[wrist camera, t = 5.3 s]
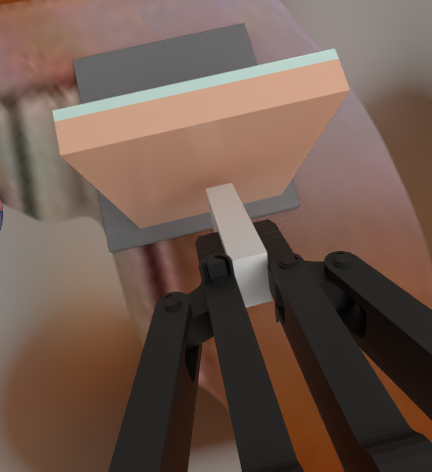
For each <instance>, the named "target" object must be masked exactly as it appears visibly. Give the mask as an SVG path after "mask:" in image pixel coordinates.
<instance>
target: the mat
mask: <svg viewBox="0 0 432 472" xmlns="http://www.w3.org/2000/svg"><path fill="white" fill-rule="evenodd" d="M73 63H74V68H75V73H76V79H77V84H78V89H79V94H80V100H81V104H85V103H90V102H94V101H99V100H103V99H108V98H112V97H117V96H121V95H126V94H130V93H135V92H140V91H144V90H149V89H153V88H158V87H162V86H167V85H171V84H176V83H180V82H185V81H189V80H194V79H199V78H203V77H208V76H212V75H217V74H221V73H226V72H230V71H235V70H239V69H244V68H249V67H253V66H257V63H256V60H255V57H254V53H253V50H252V47H251V44H250V40H249V37H248V34H247V30H246V27H245V24H244V23H242V24H237V25H233V26H228V27H223V28H219V29H214V30H209V31H205V32H200V33H195V34H191V35H186V36H181V37H177V38H172V39H167V40H163V41H158V42H153V43H149V44H144V45H139V46H134V47H130V48H125V49H120V50H116V51H111V52H106V53H102V54H97V55H92V56H88V57H83V58H78V59H74V60H73ZM98 195H99V200H100V206H101V211H102V216H103V221H104V227H105V232H106V237H107V243H108V248H109V252H111V253H114V252H118V251H122V250H126V249H131V248H135V247H139V246H143V245H147V244H151V243H155V242H159V241H164V240H168V239H172V238H176V237H180V236H184V235H188V234H193V233H197V232H201V231H205V230H209V229H213V223H212V218H211V213H210V212H208V213H204V214H199V215H195V216H191V217H187V218H183V219H179V220H174V221H170V222H166V223H162V224H158V225H153V226H149V227H145V228H141V229H140V228H139V227H138V226H137V225H136V224H135V223H134V222H133V221H132V220H130V219H129V218H128V217H127V216H126V215H125V214H124V213H123V212H122V211H121V210H119V209H118V208H117V207H116V206H115V205H114V204H113V203H112V202H111V201H110V200H108V199H107V198H106V197H105V196H104V195H103V194H102V193H101V192H100V191H99V190H98ZM243 206H244V208H245V210H246V212H247V214H248V216H249V218H250V219H255V218H259V217H263V216H267V215H271V214H275V213H279V212H283V211H288V210H292V209H296V208H298V207H299V206H300V204H299V201H298V198H297V194H296V191H295V188H294V185H293V181H292V180H291V182H290V183H289V185H288V186H287V188H286V189H285V191H284V192H283V194H282V195H279V196H275V197H270V198H266V199H262V200H258V201H254V202H250V203H245V204H243Z"/></svg>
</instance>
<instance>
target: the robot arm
mask: <svg viewBox="0 0 432 472" xmlns="http://www.w3.org/2000/svg"><path fill="white" fill-rule="evenodd" d="M206 194H207V199H208V204H209V208H210V213H211V218H212V223H213V228H214V232H215V233H211V234H207V235H203V236H198V238H197V241H196V243H195V244H196V249H197V254H198V259H199V270H200V274H201V277H202V282H201V284H200V285H199V287H198V288H197V289H196V290H194V291H193V292H191V293H189V294H187V295H186V294H184V293H182V292H171V293H168V294H166V295H164V296H162V297H161V298H160V299H159V300H158V302H157V304H156V306H155V310H154V313H153V317H152V320H151V324H150V327H149V331H148V334H147V338H146V341H145V345H144V348H143V352H142V355H141V359H140V362H139V366H138V369H137V373H136V377H135V380H134V383H133V387H132V390H131V394H130V397H129V401H128V404H127V408H126V411H125V415H124V418H123V422H122V426H121V429H120V433H119V436H118V440H117V443H116V447H115V450H114V454H113V457H112V461H111V464H110V468H109V471H108V472H187V471H188V463H189V453H190V445H191V437H192V429H193V420H194V411H195V403H196V394H197V386H198V377H199V369H200V360H201V352H202V343H203V342H205V341H206V340H208V339H210V338H211V337H213V336H214V339H215V343H216V348H217V353H218V358H219V363H220V368H221V372H222V377H223V382H224V387H225V392H226V397H227V401H228V406H229V411H230V416H231V421H232V425H233V430H234V435H235V440H236V445H237V449H238V454H239V459H240V464H241V469H242V472H304V471H303V469H302V467H301V465H300V464H299V462H298V460H297V457H296V455H295V452H294V449H293V446H292V443H291V440H290V437H289V434H288V431H287V428H286V425H285V422H284V419H283V416H282V413H281V410H280V408H279V405H278V402H277V399H276V396H275V393H274V390H273V387H272V384H271V381H270V378H269V375H268V372H267V369H266V366H265V363H264V360H263V357H262V354H261V351H260V348H259V345H258V342H257V339H256V337H255V334H254V331H253V328H252V325H251V322H250V319H249V316H248V313H247V310H246V307H250V306H254V305H258V304H262V303H266V302H270V301H272V299H271V294H272V297H273V299H274V302H275V313H276V322H279V320H280V322H281V324H282V327H283V329H284V331H285V334H286V336H287V338H288V341H289V343H290V345H291V348H292V350H293V352H294V355H295V357H296V359H297V362H298V364H299V366H300V369H301V371H302V373H303V376H304V378H305V380H306V383H307V385H308V387H309V390H310V392H311V394H312V397H313V399H314V401H315V404H316V406H317V408H318V411H319V413H320V415H321V418H322V420H323V422H324V425H325V427H326V429H327V432H328V434H329V436H330V439H331V441H332V443H333V446H334V448H335V450H336V453H337V455H338V457H339V460H340V462H341V464H342V467H343V469H344V471H345V472H432V443H431V442H430V441H429V440H428V439H427V438H426V437H425V436H424V435H423V434H420V433H418V432H415V431H414V430H413V429H411V427H410V426H409V425H408V423H407V422H406V420H405V419H404V417H403V416H402V414H401V413H400V411H399V409H398V408H397V406H396V405H395V403H394V401H393V400H392V398H391V397H390V395H389V394H388V392H387V390H386V389H385V387H384V386H383V384H382V383H381V381H380V379H379V378H378V376H377V375H376V373H375V372H374V370H373V368H372V367H371V365H370V364H369V362H368V361H367V359H366V357H365V356H364V354H363V353H362V351H361V350H360V348H361V349H362V350H363V351H364V352H365V353H366V354H367V355H368V357H369V358H370V359H371V360H372V361H373V362H374V363H375V364H376V365H377V366H378V367H379V368H380V369H381V370H382V371H383V372H384V373H385V374H386V375H387V376H388V377H389V378H390V379H391V380H392V381H393V382H394V383H395V384H396V385H397V386H398V387H399V388H400V389H401V390H402V391H403V392H404V393H405V394H406V395H407V396H408V397H409V398H410V399H411V400H412V401H413V402H414V403H415V404H416V405H417V406H418V407H419V408H420V409H421V410H422V411H423V412H424V413H425V414H426V415H427V416H428V417H429V418H430V419H431V420H432V310H431V309H430V308H428V307H427V306H425V305H424V304H423V303H421V302H420V301H418V300H417V299H416V298H414V297H413V296H411V295H410V294H409V293H407V292H406V291H404V290H403V289H402V288H400V287H399V286H397V285H396V284H395V283H393V282H392V281H390V280H389V279H388V278H386V277H385V276H384V275H382V274H381V273H379V272H378V271H377V270H375V269H374V268H372V267H371V266H370V265H368V264H367V263H365V262H364V261H363V260H361V259H360V258H358V257H357V256H356V255H354V254H352V253H349V252H345V251H336V252H332V253H330V254H328V255H327V256H326V258H325V259H324V262H312V261H305V260H303V258H302V257H300V256H299V255H297V254H295V253H293V252H292V250H291V248H290V247H289V245H288V243H287V242H286V240H285V239H284V237H283V236H282V234H281V232H280V231H279V229H278V227H277V226H276V224H275V223H273V222H272V221H270V220H268V219H267V220H263V221H259V222H255V223H252V222H251V220H250V218H249V216H248V214H247V212H246V210H245V208H244V206H243V204H242V202H241V200H240V198H239V196H238V194H237V192H236V190H235V188H234V186H233V184H232V183H228V184H224V185H219V186H215V187H211V188H206ZM359 347H360V348H359Z"/></svg>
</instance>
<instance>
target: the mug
mask: <svg viewBox="0 0 432 472" xmlns="http://www.w3.org/2000/svg"><path fill="white" fill-rule="evenodd" d="M2 221H3V207H2V202H1V199H0V229H1V226H2Z"/></svg>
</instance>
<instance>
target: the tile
mask: <svg viewBox="0 0 432 472" xmlns="http://www.w3.org/2000/svg"><path fill="white" fill-rule="evenodd" d="M349 90H350V89H349V86H348V83H347V81H346V78H345V75H344V72H343V70H342V67H341V64H340V61H339V59H338V56H337V53H336V50H335V49H330V50H326V51H321V52H317V53H312V54H308V55H303V56H298V57H294V58H289V59H285V60H280V61H276V62H271V63H267V64H262V65H258V66H253V67H249V68H244V69H239V70H235V71H230V72H226V73H221V74H217V75H212V76H208V77H203V78H199V79H194V80H189V81H185V82H180V83H176V84H171V85H167V86H162V87H158V88H153V89H149V90H144V91H140V92H135V93H130V94H126V95H121V96H117V97H112V98H108V99H103V100H99V101H94V102H90V103H85V104H80V105H76V106H71V107H67V108H62V109H58V110H53V116H54V122H55V128H56V134H57V140H58V146H59V151H60V156H61V157H62V158H63V159H65V160H66V161H67V162H68V163H69V164H70V165H71V166H72V167H73V168H74V169H76V170H77V171H78V172H79V173H80V174H81V175H82V176H83V177H84V178H85V179H87V180H88V181H89V182H90V183H91V184H92V185H93V186H94V187H95V188H96V189H97V190H99V191H100V192H101V193H102V194H103V195H104V196H105V197H106V198H107V199H108V200H110V201H111V202H112V203H113V204H114V205H115V206H116V207H117V208H118V209H119V210H121V211H122V212H123V213H124V214H125V215H126V216H127V217H128V218H129V219H130V220H132V221H133V222H134V223H135V224H136V225H137V226H138V227H139V228H140V229H141V228H145V227H149V226H153V225H158V224H162V223H166V222H170V221H174V220H179V219H183V218H187V217H191V216H195V215H199V214H204V213H208V212H210V208H209V204H208V199H207V194H206V188H211V187H215V186H219V185H224V184H228V183H232V184H233V186H234V188H235V190H236V192H237V194H238V196H239V198H240V200H241V202H242V204H245V203H250V202H254V201H258V200H262V199H266V198H270V197H275V196H279V195H282V194H283V192H284V191H285V189H286V188H287V186H288V185H289V183H290V182H291V180H292V178H293V177H294V175H295V174H296V172H297V171H298V169H299V168H300V166H301V165H302V163H303V161H304V160H305V158H306V157H307V155H308V154H309V152H310V151H311V149H312V148H313V146H314V144H315V143H316V141H317V140H318V138H319V137H320V135H321V134H322V132H323V131H324V129H325V127H326V126H327V124H328V123H329V121H330V120H331V118H332V117H333V115H334V114H335V112H336V110H337V109H338V107H339V106H340V104H341V103H342V101H343V100H344V98H345V97H346V95H347V93H348V92H349Z"/></svg>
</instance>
